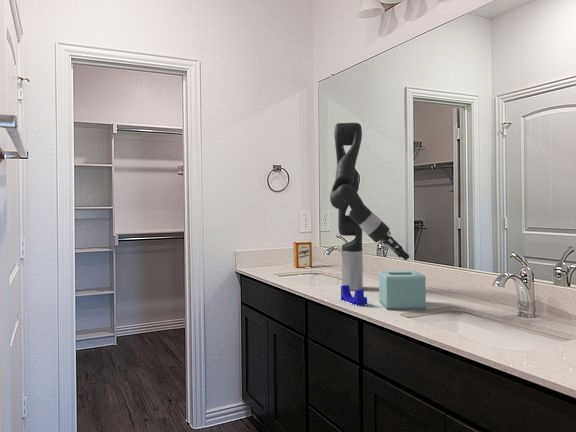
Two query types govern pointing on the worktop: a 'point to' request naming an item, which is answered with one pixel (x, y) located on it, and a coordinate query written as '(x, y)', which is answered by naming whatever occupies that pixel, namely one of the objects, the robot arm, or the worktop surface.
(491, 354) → the worktop surface
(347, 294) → the cable clip
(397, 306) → the box
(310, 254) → the baking soda box
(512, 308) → the worktop surface
